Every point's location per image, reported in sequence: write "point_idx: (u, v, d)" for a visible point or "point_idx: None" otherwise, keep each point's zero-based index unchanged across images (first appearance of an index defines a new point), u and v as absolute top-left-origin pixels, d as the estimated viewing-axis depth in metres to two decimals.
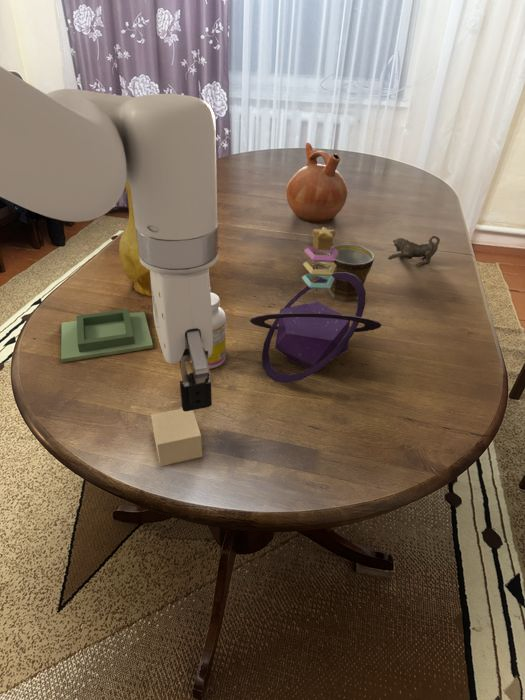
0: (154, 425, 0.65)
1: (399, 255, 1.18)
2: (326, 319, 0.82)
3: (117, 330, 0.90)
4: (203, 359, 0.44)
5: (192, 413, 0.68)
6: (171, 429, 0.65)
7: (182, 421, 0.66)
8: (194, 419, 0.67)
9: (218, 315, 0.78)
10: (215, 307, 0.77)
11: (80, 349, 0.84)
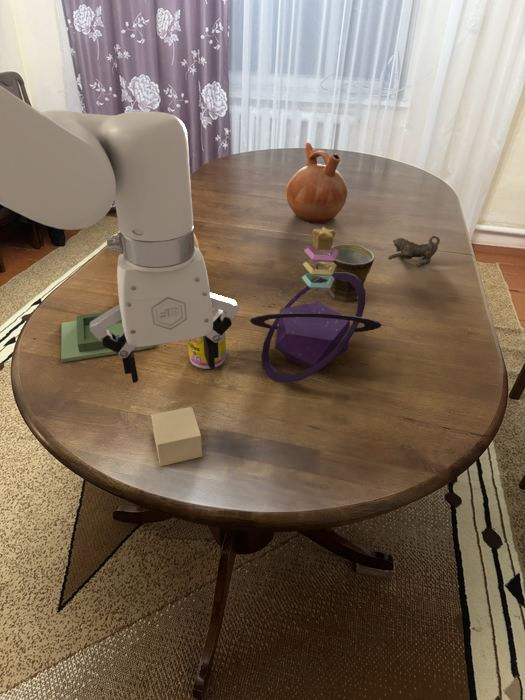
0: (154, 425, 0.65)
1: (399, 255, 1.18)
2: (326, 319, 0.82)
3: (117, 330, 0.90)
4: (229, 299, 0.57)
5: (192, 413, 0.68)
6: (171, 429, 0.65)
7: (182, 421, 0.66)
8: (194, 419, 0.67)
9: (218, 315, 0.78)
10: None
11: (80, 349, 0.84)
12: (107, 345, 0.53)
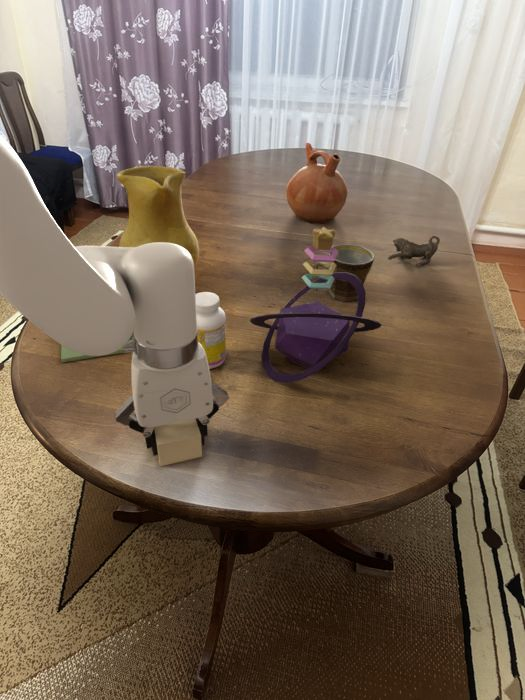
0: None
1: (399, 255, 1.18)
2: (326, 319, 0.82)
3: None
4: (222, 389, 0.65)
5: None
6: (171, 429, 0.65)
7: (182, 421, 0.66)
8: (194, 419, 0.67)
9: (218, 315, 0.78)
10: (215, 307, 0.77)
11: None
12: (133, 427, 0.62)
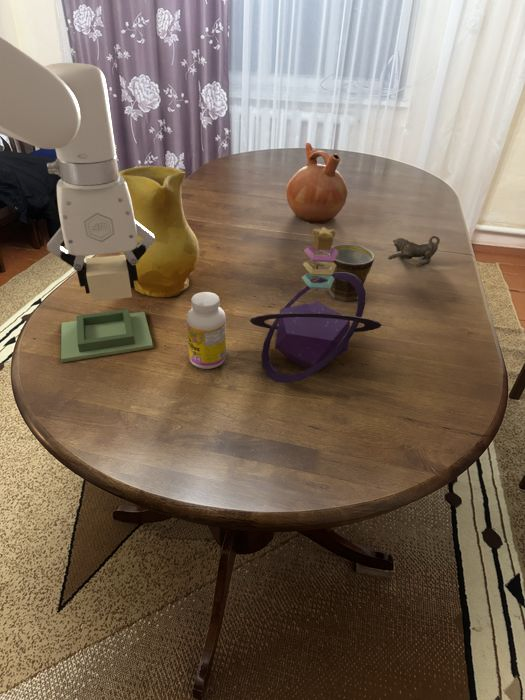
0: (87, 264, 0.71)
1: (399, 255, 1.18)
2: (326, 319, 0.82)
3: (117, 330, 0.90)
4: (149, 231, 0.71)
5: (124, 259, 0.73)
6: (102, 267, 0.71)
7: (113, 263, 0.72)
8: (124, 262, 0.73)
9: (218, 315, 0.78)
10: (215, 307, 0.77)
11: (80, 349, 0.84)
12: (64, 259, 0.68)
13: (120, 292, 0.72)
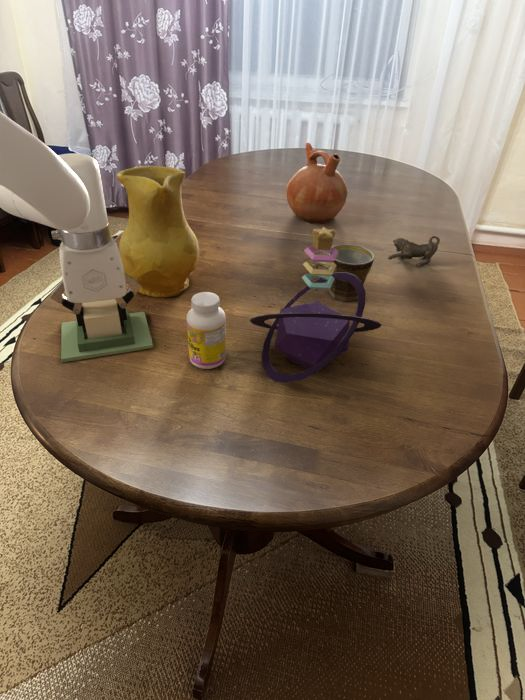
0: (84, 308, 0.85)
1: (399, 255, 1.18)
2: (326, 319, 0.82)
3: None
4: (136, 280, 0.85)
5: (115, 302, 0.87)
6: (96, 310, 0.85)
7: (106, 306, 0.86)
8: (115, 305, 0.86)
9: (218, 315, 0.78)
10: (215, 307, 0.77)
11: (80, 349, 0.84)
12: (65, 305, 0.82)
13: (112, 331, 0.86)
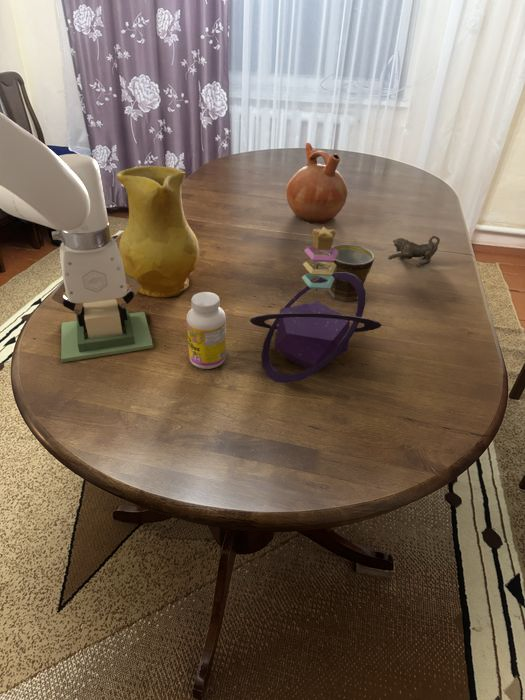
0: (84, 308, 0.85)
1: (399, 255, 1.18)
2: (326, 319, 0.82)
3: None
4: (136, 280, 0.85)
5: (116, 302, 0.87)
6: (97, 310, 0.85)
7: (106, 306, 0.86)
8: (116, 305, 0.87)
9: (218, 315, 0.78)
10: (215, 307, 0.77)
11: (80, 349, 0.84)
12: (66, 305, 0.82)
13: (113, 331, 0.86)
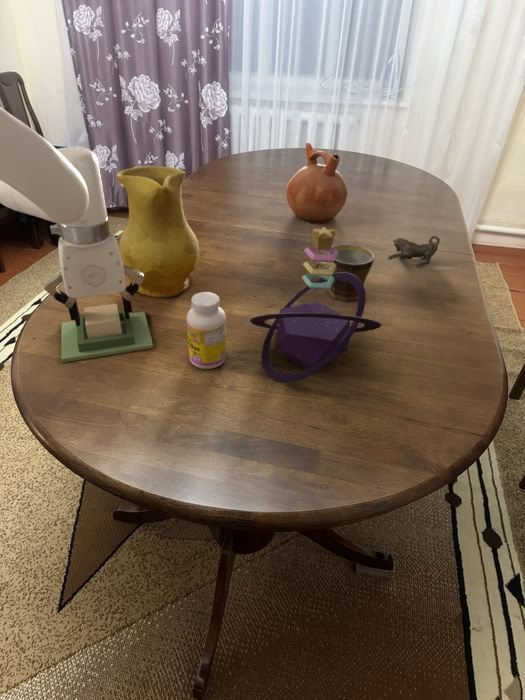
0: (85, 313, 0.86)
1: (399, 255, 1.18)
2: (326, 319, 0.82)
3: None
4: (138, 271, 0.84)
5: (116, 307, 0.88)
6: (98, 316, 0.85)
7: (107, 312, 0.87)
8: (117, 310, 0.87)
9: (218, 315, 0.78)
10: (215, 307, 0.77)
11: (80, 349, 0.84)
12: (57, 298, 0.81)
13: None
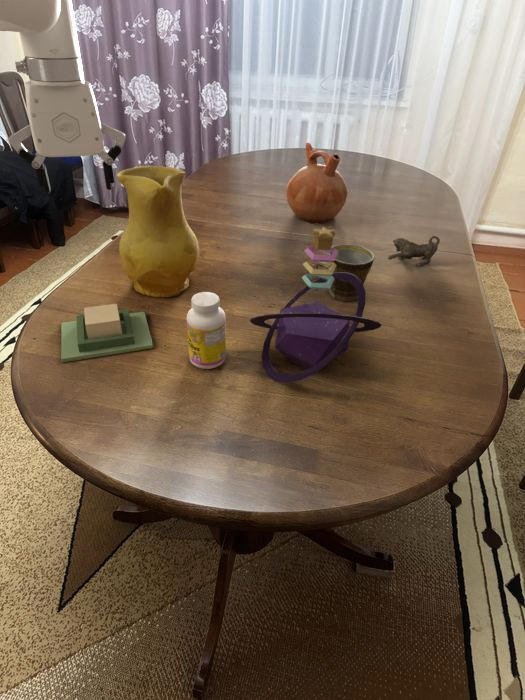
0: (85, 313, 0.86)
1: (399, 255, 1.18)
2: (326, 319, 0.82)
3: None
4: None
5: (116, 307, 0.88)
6: (98, 316, 0.85)
7: (107, 312, 0.87)
8: (117, 310, 0.87)
9: (218, 315, 0.78)
10: (215, 307, 0.77)
11: (80, 349, 0.84)
12: (22, 156, 0.72)
13: None
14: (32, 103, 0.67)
